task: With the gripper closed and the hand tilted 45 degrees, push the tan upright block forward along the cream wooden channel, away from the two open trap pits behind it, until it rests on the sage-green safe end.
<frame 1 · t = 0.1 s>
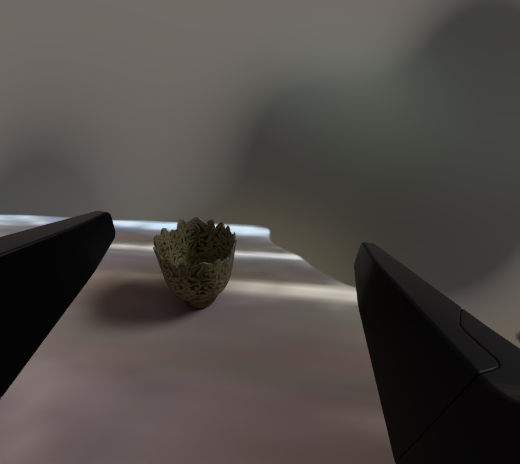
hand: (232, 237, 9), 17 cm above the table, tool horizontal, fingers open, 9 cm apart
cup: (200, 299, 29), on the table
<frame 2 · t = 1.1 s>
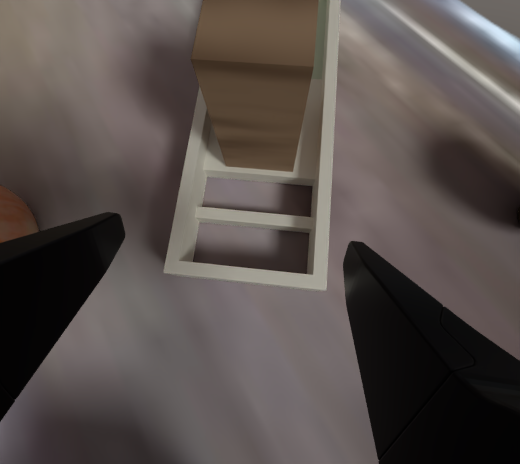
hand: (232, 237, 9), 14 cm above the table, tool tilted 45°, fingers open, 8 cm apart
tan upright block: (263, 129, 24), point 1 cm above the table, touching trap box
trap box: (266, 121, 26), on the table
orange pumpkin: (7, 252, 24), on the table
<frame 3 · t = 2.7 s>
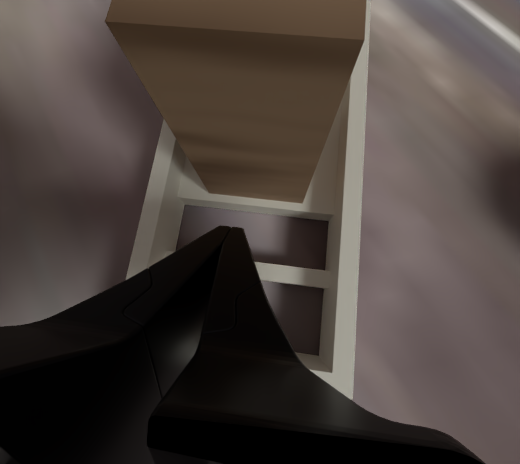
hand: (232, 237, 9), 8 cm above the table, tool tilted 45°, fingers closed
tan upright block: (263, 142, 18), point 1 cm above the table, touching trap box
trap box: (267, 129, 19), on the table
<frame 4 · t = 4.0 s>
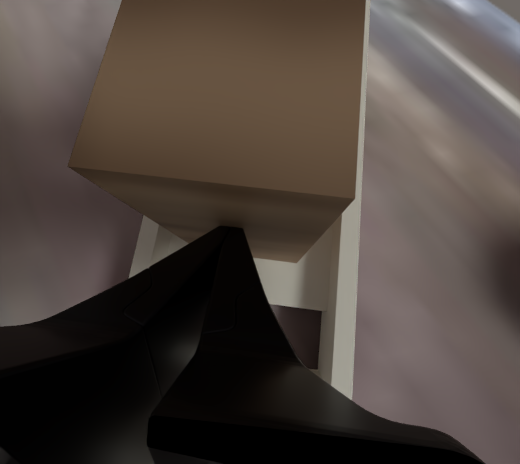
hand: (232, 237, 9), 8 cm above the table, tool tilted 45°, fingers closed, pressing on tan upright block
tan upright block: (256, 195, 17), point 2 cm above the table, touching gripper
trap box: (257, 204, 18), on the table
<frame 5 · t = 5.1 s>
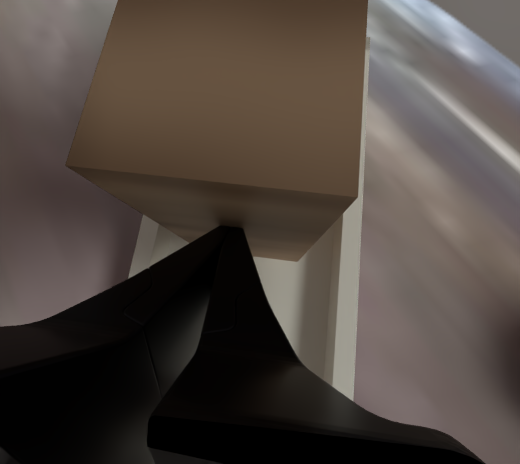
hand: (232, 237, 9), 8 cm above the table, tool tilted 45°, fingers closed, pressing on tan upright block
tan upright block: (256, 194, 17), point 2 cm above the table, touching gripper, trap box
trap box: (247, 278, 17), on the table
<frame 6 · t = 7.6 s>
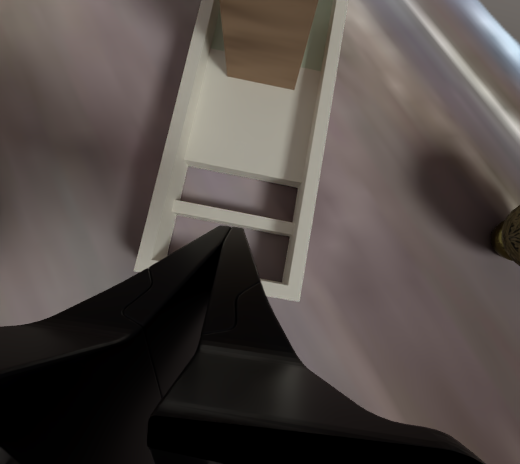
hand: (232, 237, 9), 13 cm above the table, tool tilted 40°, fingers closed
tan upright block: (269, 43, 24), point 1 cm above the table, touching trap box
cup: (503, 241, 24), on the table
trap box: (256, 110, 24), on the table
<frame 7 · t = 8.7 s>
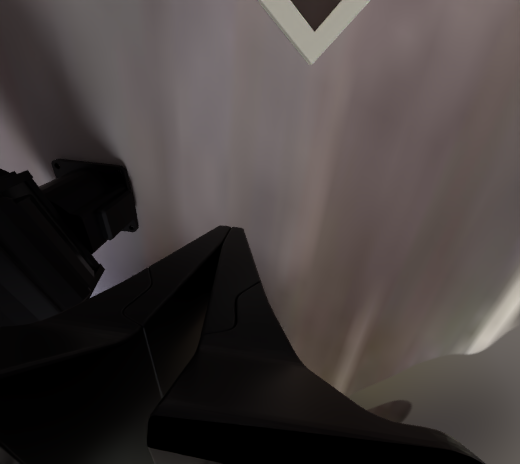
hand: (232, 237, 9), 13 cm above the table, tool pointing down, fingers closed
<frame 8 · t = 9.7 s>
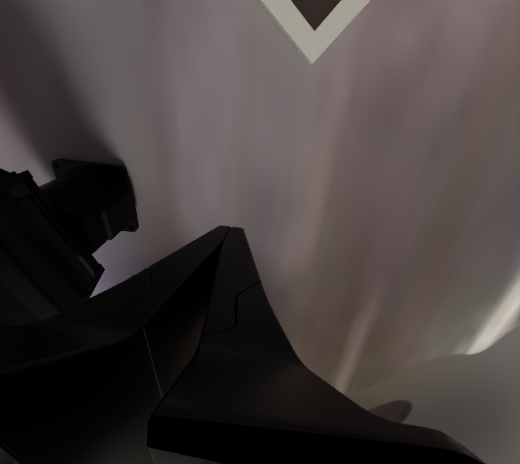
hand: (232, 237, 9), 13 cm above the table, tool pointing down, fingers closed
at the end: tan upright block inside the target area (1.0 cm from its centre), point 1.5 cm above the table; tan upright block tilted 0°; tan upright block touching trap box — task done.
